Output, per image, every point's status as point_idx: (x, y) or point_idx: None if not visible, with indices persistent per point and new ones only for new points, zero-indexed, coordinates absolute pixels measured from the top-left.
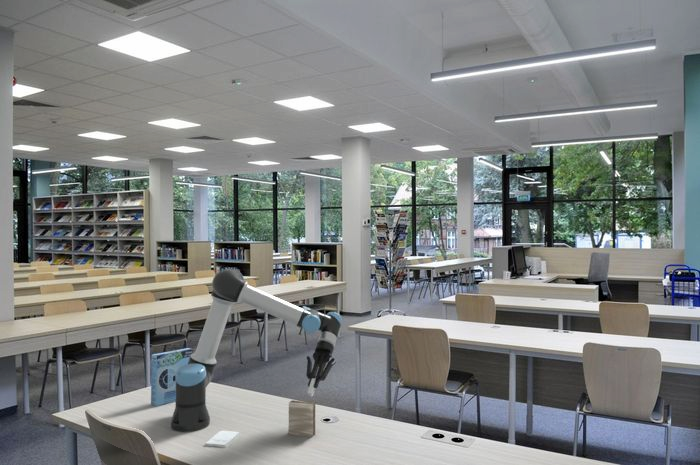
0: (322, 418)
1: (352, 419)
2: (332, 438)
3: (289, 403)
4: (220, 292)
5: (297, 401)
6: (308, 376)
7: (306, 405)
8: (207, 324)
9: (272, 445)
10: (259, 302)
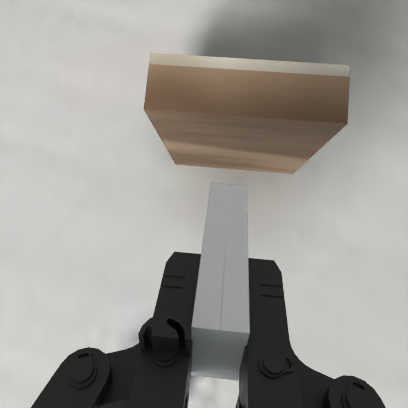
0: None
1: None
2: (90, 141)
3: (340, 67)
4: None
5: (293, 108)
6: (331, 384)
7: (196, 58)
8: None
9: (306, 8)
10: None
